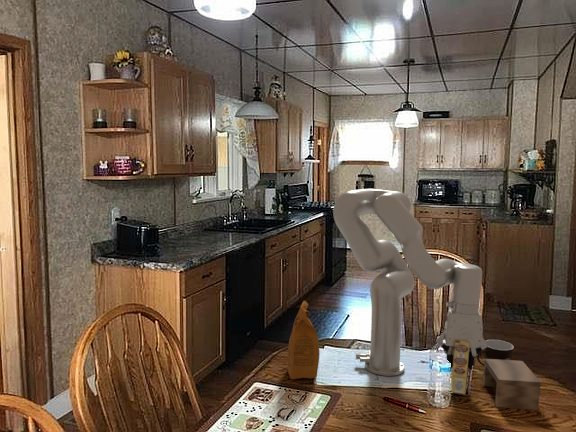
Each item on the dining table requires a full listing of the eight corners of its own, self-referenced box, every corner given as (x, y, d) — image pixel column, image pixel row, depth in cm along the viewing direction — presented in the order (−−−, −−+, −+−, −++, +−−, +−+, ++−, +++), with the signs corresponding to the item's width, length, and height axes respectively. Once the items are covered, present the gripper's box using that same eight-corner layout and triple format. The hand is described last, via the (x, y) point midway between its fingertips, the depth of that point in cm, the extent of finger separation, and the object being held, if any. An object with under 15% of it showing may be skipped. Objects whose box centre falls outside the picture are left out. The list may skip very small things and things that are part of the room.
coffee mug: (506, 369, 164) (508, 340, 162) (515, 381, 155) (517, 350, 154) (469, 367, 165) (471, 338, 163) (476, 379, 156) (478, 348, 155)
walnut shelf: (496, 406, 140) (498, 379, 139) (482, 383, 153) (484, 358, 152) (538, 409, 138) (540, 382, 137) (520, 386, 152) (522, 360, 151)
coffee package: (318, 364, 165) (319, 299, 162) (319, 382, 153) (320, 312, 150) (287, 363, 165) (289, 298, 163) (286, 380, 153) (287, 311, 150)
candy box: (465, 395, 144) (470, 344, 142) (450, 392, 145) (454, 341, 143) (464, 381, 152) (469, 333, 150) (450, 379, 153) (454, 331, 151)
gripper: (437, 309, 142) (432, 370, 145) (499, 313, 141) (493, 375, 143) (432, 301, 150) (427, 359, 152) (491, 305, 148) (485, 363, 151)
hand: (459, 366), depth 148 cm, fingers closed on candy box, 4 cm apart
